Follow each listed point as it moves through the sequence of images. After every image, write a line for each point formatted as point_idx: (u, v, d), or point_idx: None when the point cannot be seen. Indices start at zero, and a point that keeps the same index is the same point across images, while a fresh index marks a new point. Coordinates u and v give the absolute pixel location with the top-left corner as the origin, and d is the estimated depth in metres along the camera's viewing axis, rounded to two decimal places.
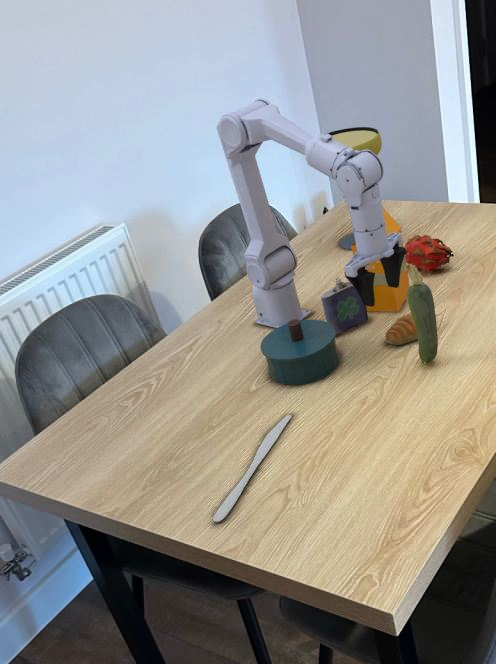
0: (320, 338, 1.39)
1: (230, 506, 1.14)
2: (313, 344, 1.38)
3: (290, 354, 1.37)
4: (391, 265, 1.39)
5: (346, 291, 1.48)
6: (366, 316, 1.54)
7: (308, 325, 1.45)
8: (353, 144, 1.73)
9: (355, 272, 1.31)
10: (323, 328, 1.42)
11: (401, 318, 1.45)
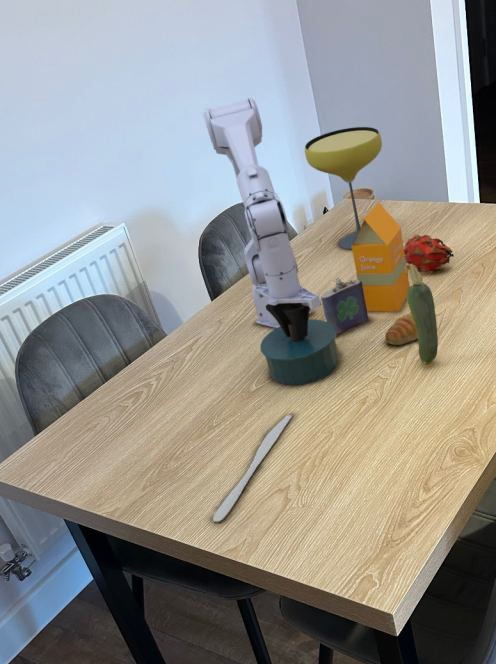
0: (320, 338, 1.39)
1: (230, 506, 1.14)
2: (313, 344, 1.38)
3: (290, 354, 1.37)
4: None
5: (346, 291, 1.48)
6: (366, 316, 1.54)
7: (308, 325, 1.45)
8: (353, 144, 1.73)
9: (257, 294, 1.40)
10: (323, 328, 1.42)
11: (401, 318, 1.45)
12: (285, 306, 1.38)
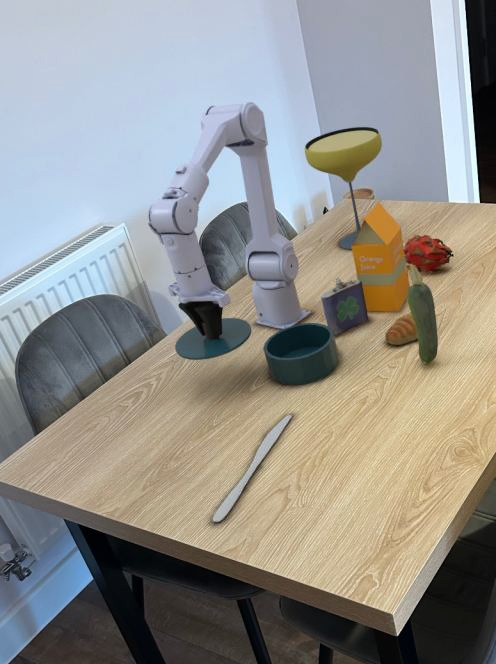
0: (234, 337, 1.38)
1: (230, 506, 1.14)
2: (227, 343, 1.37)
3: (202, 353, 1.35)
4: None
5: (346, 291, 1.48)
6: (366, 316, 1.54)
7: (225, 324, 1.43)
8: (353, 144, 1.73)
9: (170, 292, 1.38)
10: (239, 326, 1.41)
11: (401, 318, 1.45)
12: (198, 304, 1.37)
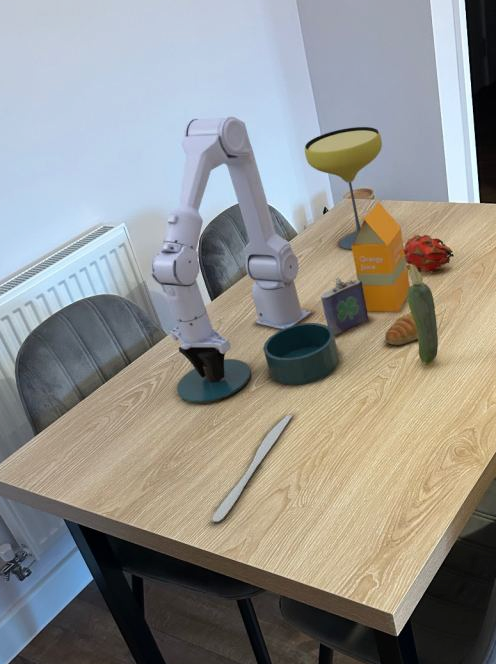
0: (234, 379, 1.43)
1: (229, 506, 1.14)
2: (227, 385, 1.42)
3: (203, 395, 1.40)
4: None
5: (346, 291, 1.48)
6: (366, 316, 1.54)
7: (225, 365, 1.48)
8: (353, 144, 1.73)
9: (173, 336, 1.43)
10: (239, 368, 1.46)
11: (401, 318, 1.45)
12: (198, 348, 1.43)
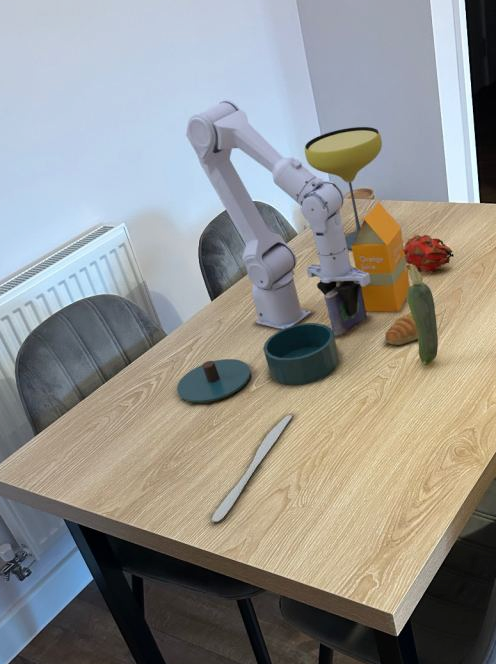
0: (234, 379, 1.43)
1: (229, 506, 1.14)
2: (227, 385, 1.42)
3: (203, 395, 1.40)
4: None
5: None
6: (365, 314, 1.54)
7: (225, 365, 1.48)
8: (353, 144, 1.73)
9: (309, 273, 1.50)
10: (239, 368, 1.46)
11: (401, 318, 1.45)
12: (335, 284, 1.49)
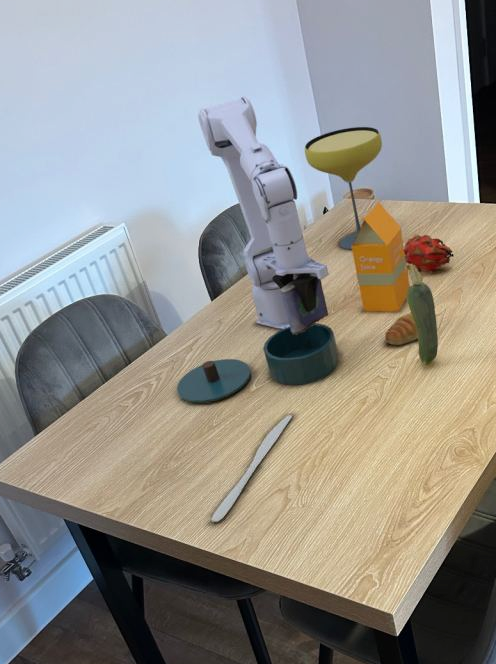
0: (234, 379, 1.43)
1: (229, 506, 1.14)
2: (227, 385, 1.42)
3: (203, 395, 1.40)
4: None
5: None
6: (326, 309, 1.44)
7: (225, 365, 1.48)
8: (353, 144, 1.73)
9: (264, 266, 1.40)
10: (239, 368, 1.46)
11: (401, 318, 1.45)
12: (292, 277, 1.39)
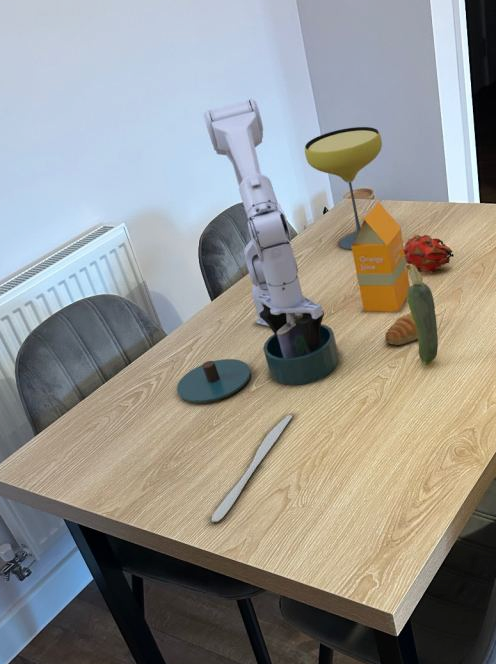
0: (234, 379, 1.43)
1: (228, 506, 1.14)
2: (227, 385, 1.42)
3: (203, 395, 1.40)
4: None
5: None
6: None
7: (225, 365, 1.48)
8: (353, 144, 1.73)
9: (259, 303, 1.41)
10: (239, 368, 1.46)
11: (401, 318, 1.45)
12: (278, 313, 1.41)
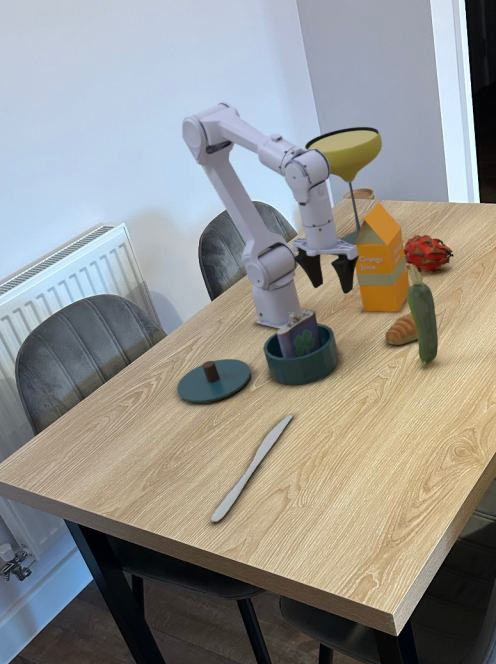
0: (234, 379, 1.43)
1: (228, 506, 1.14)
2: (227, 385, 1.42)
3: (203, 395, 1.40)
4: None
5: (302, 324, 1.39)
6: None
7: (225, 365, 1.48)
8: (353, 144, 1.73)
9: (294, 247, 1.44)
10: (239, 368, 1.46)
11: (401, 318, 1.45)
12: (313, 257, 1.44)
